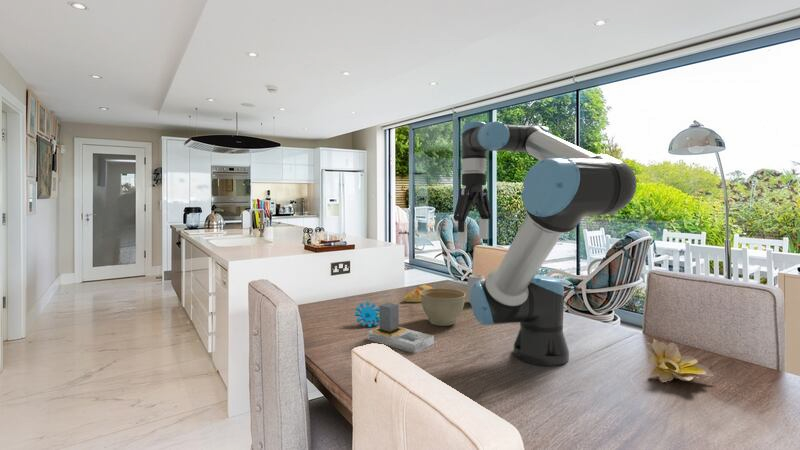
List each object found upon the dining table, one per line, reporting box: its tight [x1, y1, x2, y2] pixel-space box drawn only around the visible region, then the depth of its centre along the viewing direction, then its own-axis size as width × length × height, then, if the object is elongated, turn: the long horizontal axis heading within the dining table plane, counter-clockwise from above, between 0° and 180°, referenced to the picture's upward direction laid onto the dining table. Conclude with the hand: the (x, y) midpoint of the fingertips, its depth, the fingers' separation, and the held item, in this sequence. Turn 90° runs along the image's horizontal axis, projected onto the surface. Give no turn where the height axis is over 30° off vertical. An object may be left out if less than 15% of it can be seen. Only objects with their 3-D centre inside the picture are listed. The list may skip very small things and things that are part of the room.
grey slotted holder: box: [366, 326, 435, 354], centre depth 130 cm, size 19×10×3 cm, turn 51°
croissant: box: [402, 284, 434, 303], centre depth 182 cm, size 21×10×8 cm
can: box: [466, 274, 486, 305], centre depth 175 cm, size 8×8×12 cm
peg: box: [378, 302, 400, 334], centre depth 133 cm, size 4×4×11 cm
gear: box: [354, 301, 379, 329], centre depth 148 cm, size 11×6×10 cm
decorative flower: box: [645, 338, 714, 382], centre depth 102 cm, size 15×11×10 cm
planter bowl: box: [421, 287, 466, 327], centre depth 149 cm, size 16×16×11 cm
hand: (473, 240), depth 130 cm, fingers open, 13 cm apart
